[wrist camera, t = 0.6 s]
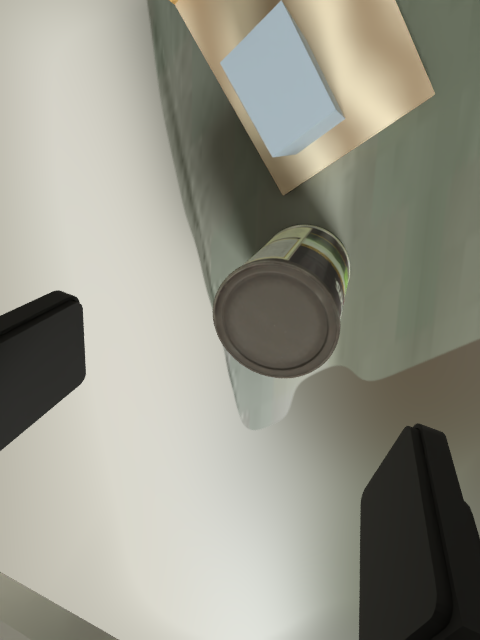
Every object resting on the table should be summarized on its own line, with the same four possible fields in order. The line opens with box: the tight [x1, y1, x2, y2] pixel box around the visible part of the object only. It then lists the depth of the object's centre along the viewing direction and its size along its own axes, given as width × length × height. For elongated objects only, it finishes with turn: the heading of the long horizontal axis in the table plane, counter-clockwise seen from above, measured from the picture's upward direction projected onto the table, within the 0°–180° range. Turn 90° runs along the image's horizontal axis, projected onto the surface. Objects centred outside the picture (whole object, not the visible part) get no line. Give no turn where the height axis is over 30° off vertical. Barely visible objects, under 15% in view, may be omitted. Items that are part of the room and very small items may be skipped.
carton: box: [220, 0, 345, 157], centre depth 26 cm, size 5×7×9 cm
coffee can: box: [213, 225, 350, 378], centre depth 32 cm, size 10×10×14 cm
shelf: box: [169, 0, 435, 195], centre depth 28 cm, size 14×20×3 cm
